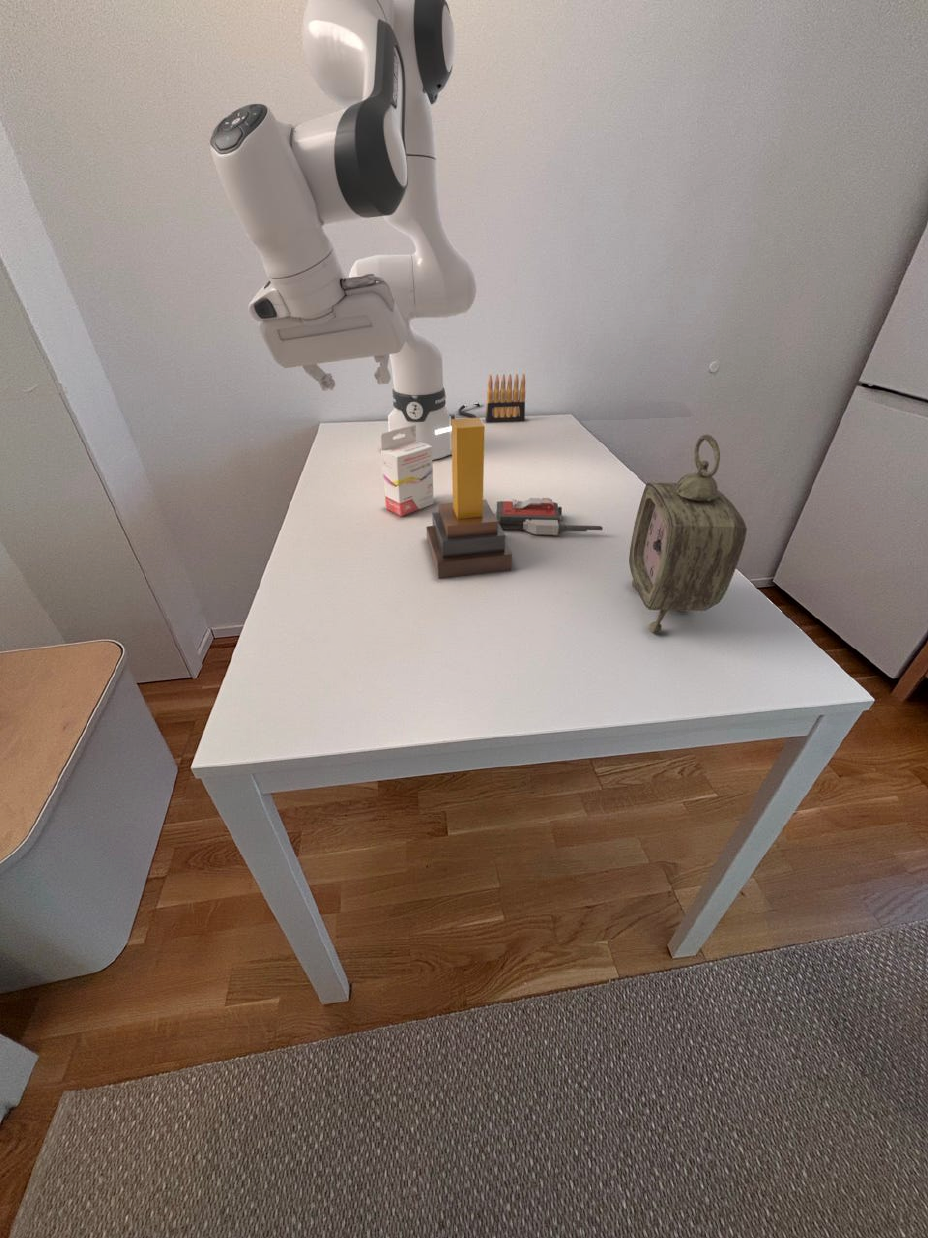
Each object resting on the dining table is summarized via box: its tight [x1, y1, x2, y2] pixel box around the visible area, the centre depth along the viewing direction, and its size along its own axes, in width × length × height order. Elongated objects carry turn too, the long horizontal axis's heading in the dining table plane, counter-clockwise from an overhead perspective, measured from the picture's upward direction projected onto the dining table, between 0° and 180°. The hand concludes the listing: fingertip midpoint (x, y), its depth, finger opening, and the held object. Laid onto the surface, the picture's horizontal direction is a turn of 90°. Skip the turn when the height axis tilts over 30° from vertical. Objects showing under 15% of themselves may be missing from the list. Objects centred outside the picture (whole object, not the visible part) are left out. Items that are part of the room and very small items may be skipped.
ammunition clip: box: [485, 373, 526, 423], centre depth 139 cm, size 11×2×12 cm, turn 96°
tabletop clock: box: [628, 434, 748, 634], centre depth 67 cm, size 14×9×25 cm, turn 178°
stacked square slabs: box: [425, 498, 513, 579], centre depth 85 cm, size 12×12×8 cm
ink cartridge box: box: [380, 425, 435, 517], centre depth 97 cm, size 9×5×15 cm, turn 134°
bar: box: [451, 417, 486, 519], centre depth 78 cm, size 4×4×14 cm
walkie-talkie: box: [495, 497, 604, 536], centre depth 94 cm, size 9×4×20 cm
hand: (356, 384), depth 76 cm, fingers open, 8 cm apart
